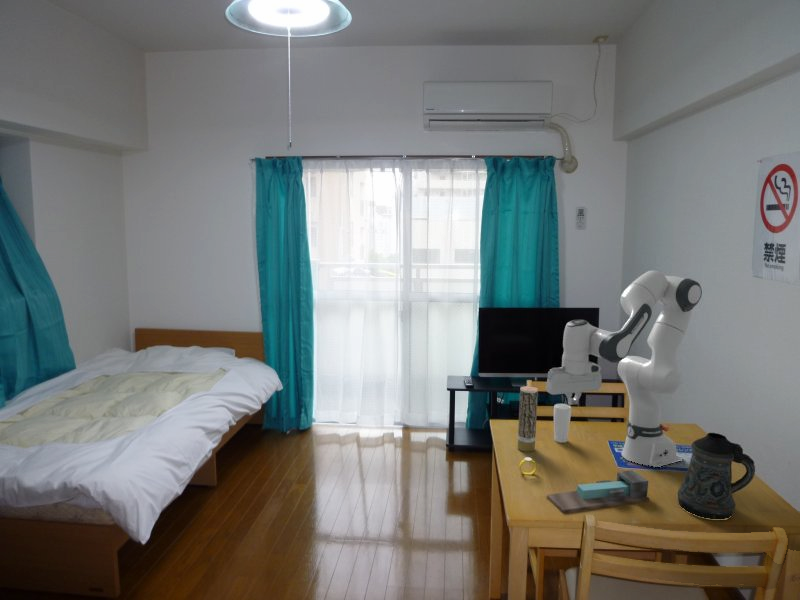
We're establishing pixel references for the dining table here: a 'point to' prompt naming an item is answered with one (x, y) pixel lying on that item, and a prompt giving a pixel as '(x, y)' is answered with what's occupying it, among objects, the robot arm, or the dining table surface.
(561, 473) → the dining table surface
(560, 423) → the drinking glass
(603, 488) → the slat
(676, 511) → the dining table surface
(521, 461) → the watch
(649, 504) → the dining table surface
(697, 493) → the beer stein
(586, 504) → the end-cap base
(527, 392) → the brown bark cylinder
